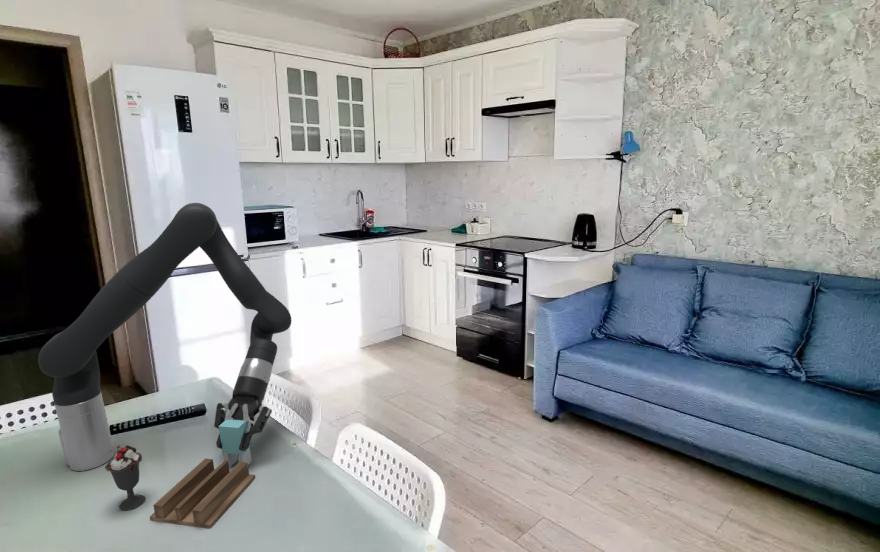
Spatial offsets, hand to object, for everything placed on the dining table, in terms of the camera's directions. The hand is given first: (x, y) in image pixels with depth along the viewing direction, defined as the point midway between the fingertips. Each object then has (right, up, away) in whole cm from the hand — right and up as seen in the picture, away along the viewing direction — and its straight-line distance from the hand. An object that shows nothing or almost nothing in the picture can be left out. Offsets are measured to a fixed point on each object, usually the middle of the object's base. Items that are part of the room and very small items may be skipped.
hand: (231, 449), depth 115 cm
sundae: (-17, -9, -9) cm, 21 cm away
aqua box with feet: (+1, -5, +3) cm, 6 cm away
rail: (-2, -8, -8) cm, 12 cm away
